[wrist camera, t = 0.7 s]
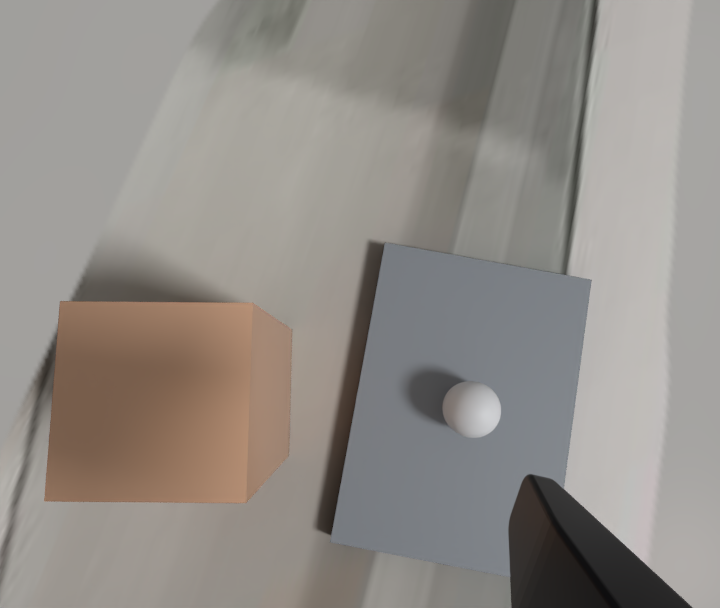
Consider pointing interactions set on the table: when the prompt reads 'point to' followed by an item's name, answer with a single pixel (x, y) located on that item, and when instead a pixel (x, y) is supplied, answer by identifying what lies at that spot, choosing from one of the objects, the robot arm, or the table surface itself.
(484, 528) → the post board
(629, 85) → the table surface
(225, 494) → the cover box
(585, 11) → the table surface
